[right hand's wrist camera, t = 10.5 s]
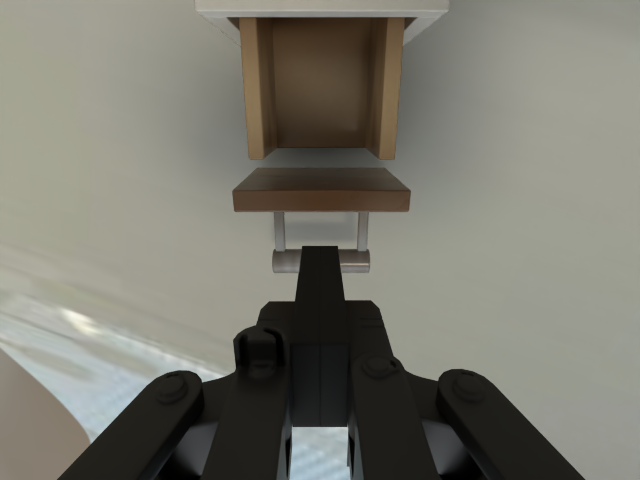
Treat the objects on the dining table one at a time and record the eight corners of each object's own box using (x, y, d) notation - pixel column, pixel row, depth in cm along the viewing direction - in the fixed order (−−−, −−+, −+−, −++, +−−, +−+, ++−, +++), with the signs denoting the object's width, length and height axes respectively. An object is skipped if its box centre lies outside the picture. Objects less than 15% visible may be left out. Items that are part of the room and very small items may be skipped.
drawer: (379, 251, 27) (400, 301, 20) (262, 251, 27) (241, 301, 20) (401, -79, 20) (446, -183, 13) (241, -79, 20) (198, -184, 13)
